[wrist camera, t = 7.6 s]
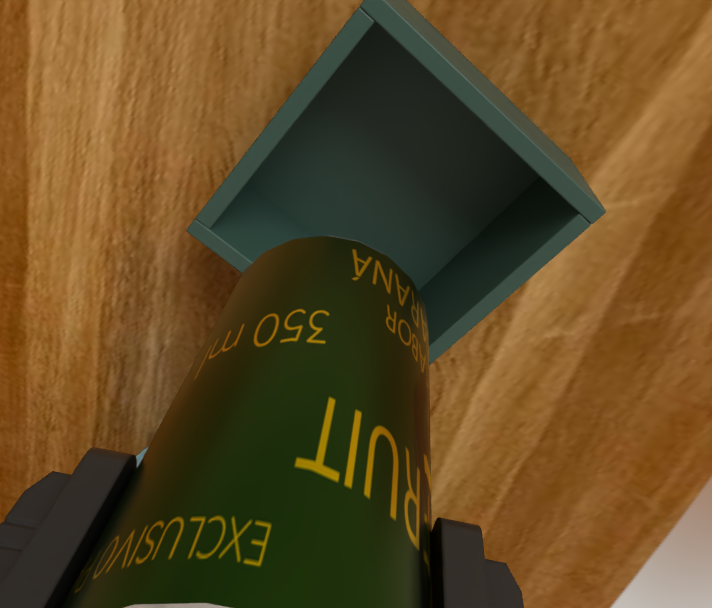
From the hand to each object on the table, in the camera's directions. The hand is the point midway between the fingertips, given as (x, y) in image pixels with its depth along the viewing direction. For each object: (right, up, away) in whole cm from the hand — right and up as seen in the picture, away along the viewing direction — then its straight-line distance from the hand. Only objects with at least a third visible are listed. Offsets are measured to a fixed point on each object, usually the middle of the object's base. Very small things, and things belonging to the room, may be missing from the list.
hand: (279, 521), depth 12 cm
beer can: (+1, +4, +7) cm, 8 cm away
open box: (+3, +10, +19) cm, 22 cm away
